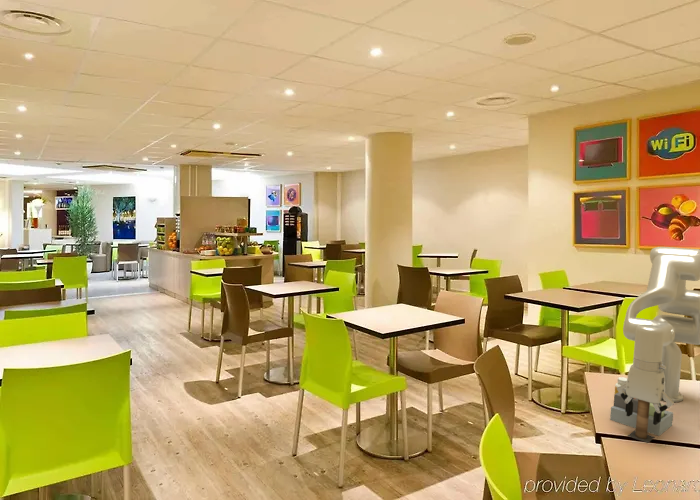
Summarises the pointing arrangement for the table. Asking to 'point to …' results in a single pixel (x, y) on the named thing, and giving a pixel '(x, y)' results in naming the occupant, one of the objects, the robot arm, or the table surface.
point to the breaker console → (620, 416)
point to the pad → (640, 438)
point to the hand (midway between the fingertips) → (642, 418)
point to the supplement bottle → (620, 383)
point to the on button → (652, 410)
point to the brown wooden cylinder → (642, 419)
